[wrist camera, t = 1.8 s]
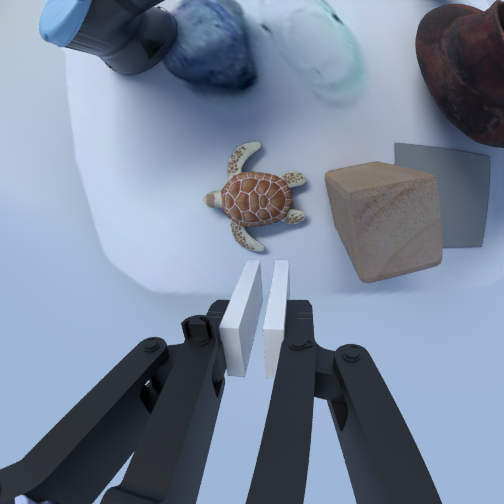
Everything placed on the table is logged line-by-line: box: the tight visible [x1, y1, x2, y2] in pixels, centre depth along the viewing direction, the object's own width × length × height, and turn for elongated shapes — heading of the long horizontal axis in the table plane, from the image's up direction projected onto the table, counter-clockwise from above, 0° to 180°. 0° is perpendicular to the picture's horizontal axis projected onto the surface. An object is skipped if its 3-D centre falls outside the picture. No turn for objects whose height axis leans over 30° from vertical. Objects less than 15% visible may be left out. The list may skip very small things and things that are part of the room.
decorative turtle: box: [203, 142, 306, 251], centre depth 42 cm, size 18×17×5 cm
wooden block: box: [325, 162, 442, 283], centre depth 32 cm, size 10×10×20 cm
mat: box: [395, 143, 490, 247], centre depth 38 cm, size 18×22×1 cm
